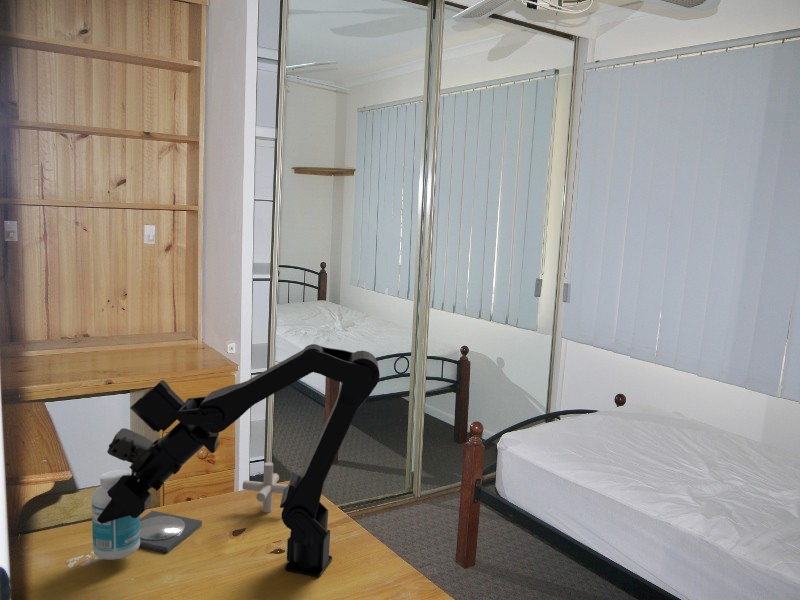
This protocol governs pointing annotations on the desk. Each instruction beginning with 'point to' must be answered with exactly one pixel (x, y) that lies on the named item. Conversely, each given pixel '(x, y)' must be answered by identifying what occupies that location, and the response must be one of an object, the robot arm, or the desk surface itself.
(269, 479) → the pipe connector
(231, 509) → the desk surface
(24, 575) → the desk surface
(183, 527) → the flange plate
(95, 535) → the pill bottle
